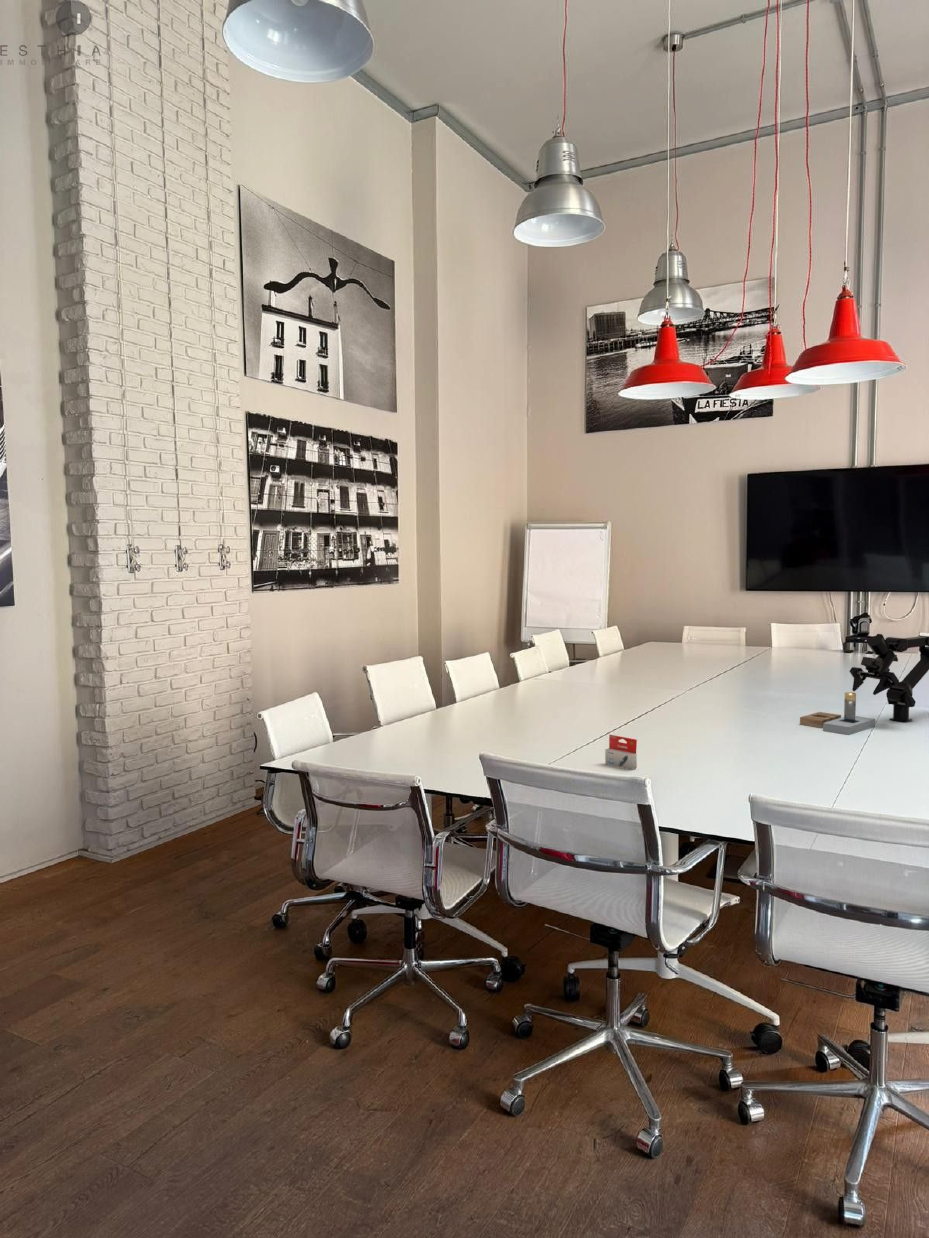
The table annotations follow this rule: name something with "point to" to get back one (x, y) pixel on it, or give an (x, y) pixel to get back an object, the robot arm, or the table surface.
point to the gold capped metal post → (850, 707)
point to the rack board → (848, 725)
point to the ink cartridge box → (621, 752)
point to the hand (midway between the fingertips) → (863, 692)
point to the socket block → (818, 719)
